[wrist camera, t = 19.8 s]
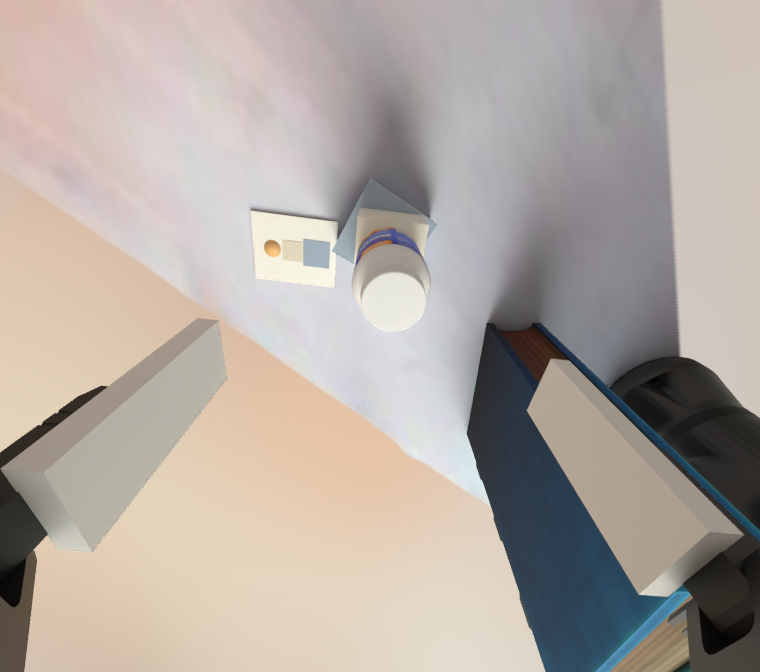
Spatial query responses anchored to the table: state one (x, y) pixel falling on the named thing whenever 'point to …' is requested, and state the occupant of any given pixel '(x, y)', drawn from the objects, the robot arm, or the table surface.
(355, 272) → the pill bottle
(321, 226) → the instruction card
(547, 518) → the book
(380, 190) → the base block
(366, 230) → the cream cube
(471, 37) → the table surface
